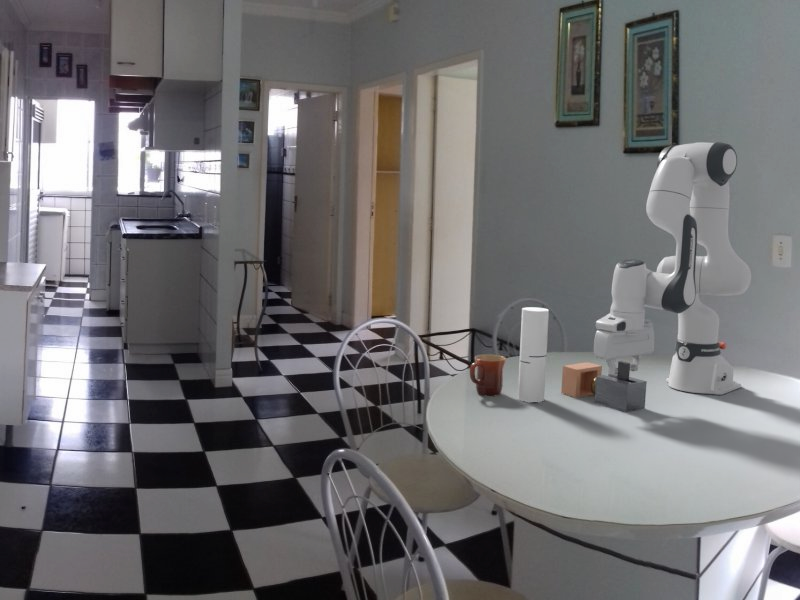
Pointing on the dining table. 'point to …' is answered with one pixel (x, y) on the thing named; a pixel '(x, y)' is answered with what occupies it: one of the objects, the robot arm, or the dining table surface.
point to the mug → (488, 374)
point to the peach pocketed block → (579, 378)
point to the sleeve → (620, 393)
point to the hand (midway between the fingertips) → (623, 372)
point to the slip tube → (622, 374)
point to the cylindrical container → (533, 354)
